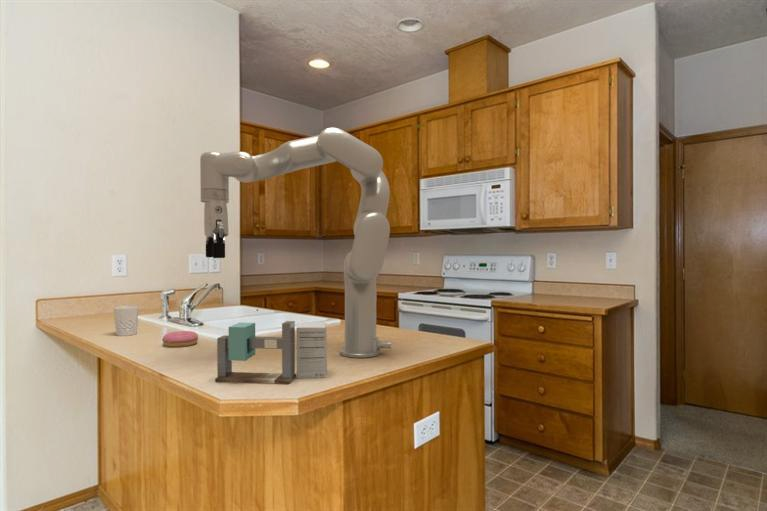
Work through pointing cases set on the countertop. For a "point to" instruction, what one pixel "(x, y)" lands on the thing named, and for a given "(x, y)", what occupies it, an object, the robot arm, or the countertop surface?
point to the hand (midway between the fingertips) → (215, 257)
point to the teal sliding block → (240, 341)
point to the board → (254, 378)
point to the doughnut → (180, 339)
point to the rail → (262, 343)
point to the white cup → (126, 320)
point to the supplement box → (311, 350)
